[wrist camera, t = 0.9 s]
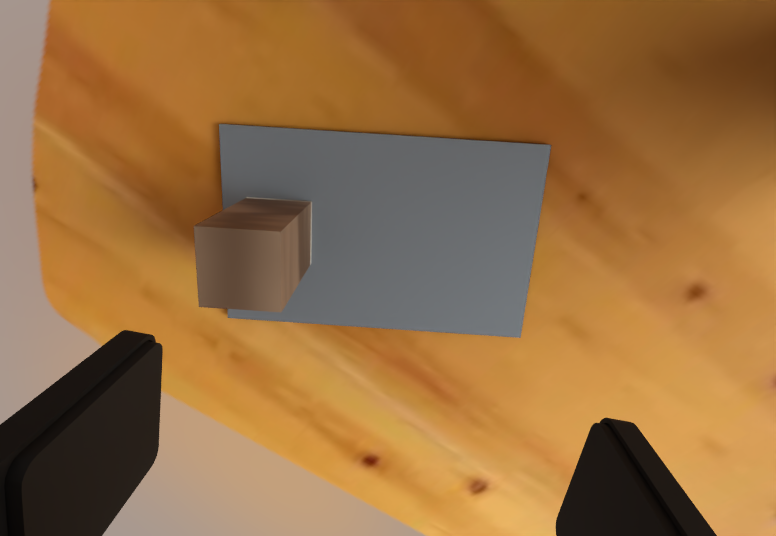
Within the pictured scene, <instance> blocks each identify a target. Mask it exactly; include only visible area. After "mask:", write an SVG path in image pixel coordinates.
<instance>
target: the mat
mask: <svg viewBox="0 0 776 536" xmlns="http://www.w3.org/2000/svg"><path fill="white" fill-rule="evenodd" d="M219 135H220V157H221V179H222V200H223V210H224V209H226V208H228V207H230V206H232V205H234V204H235V203H237V202H239V201H241V200H243V199H245V198H247V197H255V198H270V199H285V200H301V201H312V251H311V265H310V266H309V268H308V270H307V271H306V273H305V274H304V276H303V278H302V279H301V281H300V283H299V284H298V286H297V288H296V289H295V291H294V293H293V294H292V296H291V297H290V299H289V301H288V302H287V304H286V306H285V307H284V309H283V311H282V312H268V311H253V310H238V309H228V318H238V319H252V320H267V321H282V322H297V323H312V324H326V325H341V326H356V327H371V328H385V329H400V330H415V331H430V332H445V333H459V334H474V335H489V336H504V337H519V338H520V337H521V331H522V325H523V318H524V312H525V306H526V300H527V293H528V287H529V281H530V275H531V268H532V262H533V256H534V250H535V243H536V237H537V231H538V225H539V218H540V212H541V206H542V200H543V193H544V187H545V181H546V175H547V168H548V162H549V156H550V150H551V145H546V144H531V143H515V142H499V141H484V140H468V139H452V138H437V137H421V136H405V135H390V134H374V133H358V132H342V131H327V130H311V129H295V128H280V127H264V126H248V125H233V124H219Z"/></svg>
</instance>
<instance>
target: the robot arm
mask: <svg viewBox="0 0 776 536" xmlns="http://www.w3.org/2000/svg"><path fill="white" fill-rule="evenodd" d="M161 375H162V345H161V344H160V343H156V341H155V338H154V336H153V335H150V334H144V333H139V332H133V331H128V330H124V331H122V332H120V333H119V334H118V335H116V336H115V337H114V338H112V339H111V340H110V341H108V342H107V343H106V344H105V345H103V346H102V347H101V348H99V349H98V350H97V351H95V352H94V353H93V354H92V355H90V356H89V357H88V358H86V359H85V360H84V361H82V362H81V363H80V364H79V365H78V366H76V367H75V368H73V369H72V370H71V371H70V372H68V373H67V374H66V375H64V376H63V377H62V378H60V379H59V380H58V381H57V382H55V383H54V384H53V385H51V386H50V387H49V388H48V389H46V390H45V391H44V392H42V393H41V394H40V395H38V396H37V397H36V398H34V399H33V400H32V401H31V402H29V403H28V404H27V405H25V406H24V407H23V408H21V409H20V410H19V411H18V412H16V413H15V414H14V415H12V416H11V417H10V418H8V419H7V420H6V421H5V422H3V423H2V424H1V425H0V536H102V535H103V533H104V532H105V531H106V529H107V528H108V526H109V525H110V524H111V522H112V521H113V519H114V518H115V516H116V515H117V514H118V513H119V511H120V510H121V508H122V507H123V506H124V504H125V503H126V501H127V500H128V499H129V497H130V496H131V494H132V493H133V492H134V490H135V489H136V487H137V486H138V485H139V483H140V482H141V480H142V479H143V478H144V476H145V475H146V473H147V472H148V471H149V469H150V468H151V466H152V465H153V463H154V461H155V459H156V456H157V452H158V447H159V422H160V399H161ZM556 535H557V536H717V535H716V534H715V533H714V531H713V530H712V529H711V527H710V526H709V524H708V523H707V522H706V520H705V519H704V518H703V516H702V515H701V513H700V512H699V511H698V509H697V508H696V507H695V505H694V504H693V503H692V501H691V500H690V498H689V497H688V496H687V494H686V493H685V492H684V490H683V489H682V488H681V486H680V485H679V483H678V482H677V481H676V479H675V478H674V477H673V475H672V474H671V473H670V471H669V470H668V468H667V467H666V466H665V464H664V463H663V462H662V460H661V459H660V457H659V456H658V455H657V453H656V452H655V451H654V449H653V448H652V447H651V445H650V444H649V442H648V441H647V440H646V438H645V437H644V436H643V434H642V433H641V432H640V430H639V429H638V427H637V426H636V425H635V424H634V423H631V422H627V421H621V420H616V419H610V418H604V419H602V420H601V421H600V423H594V424H593V425H592V427H591V429H590V432H589V434H588V437H587V440H586V442H585V445H584V448H583V450H582V453H581V456H580V458H579V461H578V463H577V466H576V469H575V471H574V474H573V477H572V479H571V482H570V485H569V487H568V490H567V493H566V495H565V498H564V501H563V503H562V506H561V509H560V511H559V514H558V517H557V520H556Z"/></svg>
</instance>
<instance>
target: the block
mask: <svg viewBox="0 0 776 536" xmlns="http://www.w3.org/2000/svg"><path fill="white" fill-rule="evenodd" d="M194 238H195V254H196V269H197V284H198V299H199V307H208V308H223V309H238V310H253V311H268V312H282V311H283V309H284V307H285V306H286V304H287V302H288V301H289V299H290V297H291V296H292V294H293V293H294V291H295V289H296V288H297V286H298V284H299V283H300V281H301V279H302V278H303V276H304V274H305V273H306V271H307V270H308V268H309V266H310V265H311V251H312V201H301V200H285V199H270V198H255V197H247V198H245V199H243V200H241V201H239V202H237V203H235V204H234V205H232V206H230V207H228V208H226V209H224V210H222V211H221V212H219V213H217V214H215V215H213V216H211V217H210V218H208V219H206V220H204V221H202V222H200V223H198V224H197V225H195V226H194Z"/></svg>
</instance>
